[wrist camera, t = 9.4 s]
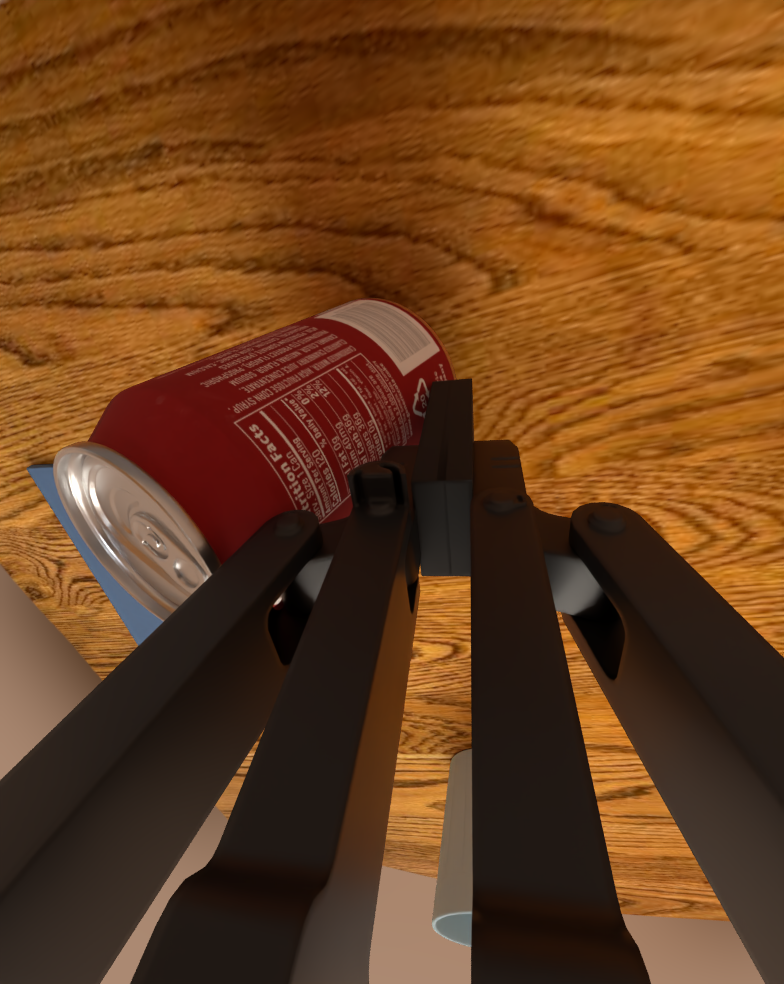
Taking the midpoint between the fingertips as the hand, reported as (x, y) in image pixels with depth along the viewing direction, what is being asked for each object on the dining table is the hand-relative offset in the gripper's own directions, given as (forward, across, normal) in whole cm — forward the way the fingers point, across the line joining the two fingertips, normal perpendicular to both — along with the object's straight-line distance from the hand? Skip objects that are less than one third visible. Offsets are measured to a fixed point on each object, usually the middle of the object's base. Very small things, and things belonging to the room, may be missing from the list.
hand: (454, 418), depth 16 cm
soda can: (+4, -3, 0) cm, 5 cm away
